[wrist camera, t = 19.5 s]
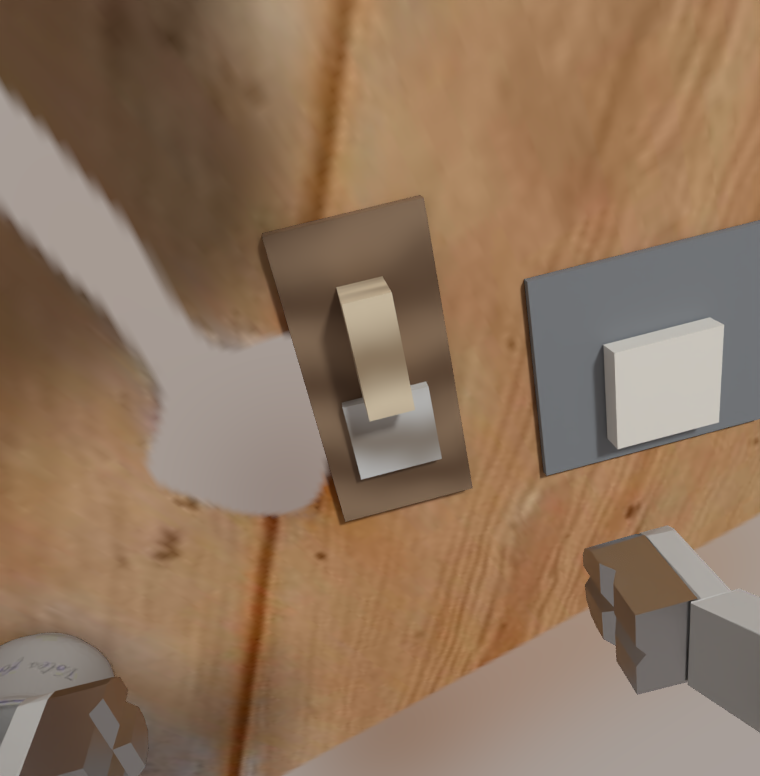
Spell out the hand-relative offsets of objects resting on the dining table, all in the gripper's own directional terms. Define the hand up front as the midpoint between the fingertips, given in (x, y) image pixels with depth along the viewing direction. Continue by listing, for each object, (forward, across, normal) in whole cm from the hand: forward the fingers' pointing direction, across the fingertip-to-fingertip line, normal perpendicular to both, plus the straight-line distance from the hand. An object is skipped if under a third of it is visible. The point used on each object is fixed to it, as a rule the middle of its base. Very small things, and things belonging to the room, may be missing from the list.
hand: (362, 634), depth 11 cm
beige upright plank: (+30, -3, +10) cm, 32 cm away
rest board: (+31, -3, +10) cm, 33 cm away
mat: (+31, -23, +14) cm, 41 cm away
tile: (+30, -23, +12) cm, 39 cm away
